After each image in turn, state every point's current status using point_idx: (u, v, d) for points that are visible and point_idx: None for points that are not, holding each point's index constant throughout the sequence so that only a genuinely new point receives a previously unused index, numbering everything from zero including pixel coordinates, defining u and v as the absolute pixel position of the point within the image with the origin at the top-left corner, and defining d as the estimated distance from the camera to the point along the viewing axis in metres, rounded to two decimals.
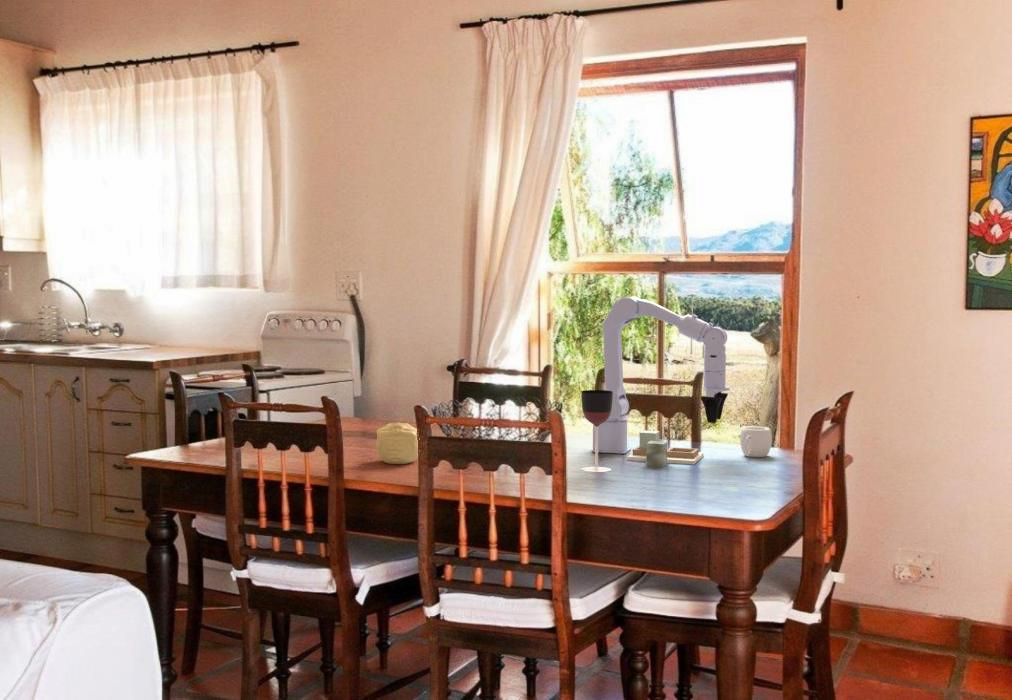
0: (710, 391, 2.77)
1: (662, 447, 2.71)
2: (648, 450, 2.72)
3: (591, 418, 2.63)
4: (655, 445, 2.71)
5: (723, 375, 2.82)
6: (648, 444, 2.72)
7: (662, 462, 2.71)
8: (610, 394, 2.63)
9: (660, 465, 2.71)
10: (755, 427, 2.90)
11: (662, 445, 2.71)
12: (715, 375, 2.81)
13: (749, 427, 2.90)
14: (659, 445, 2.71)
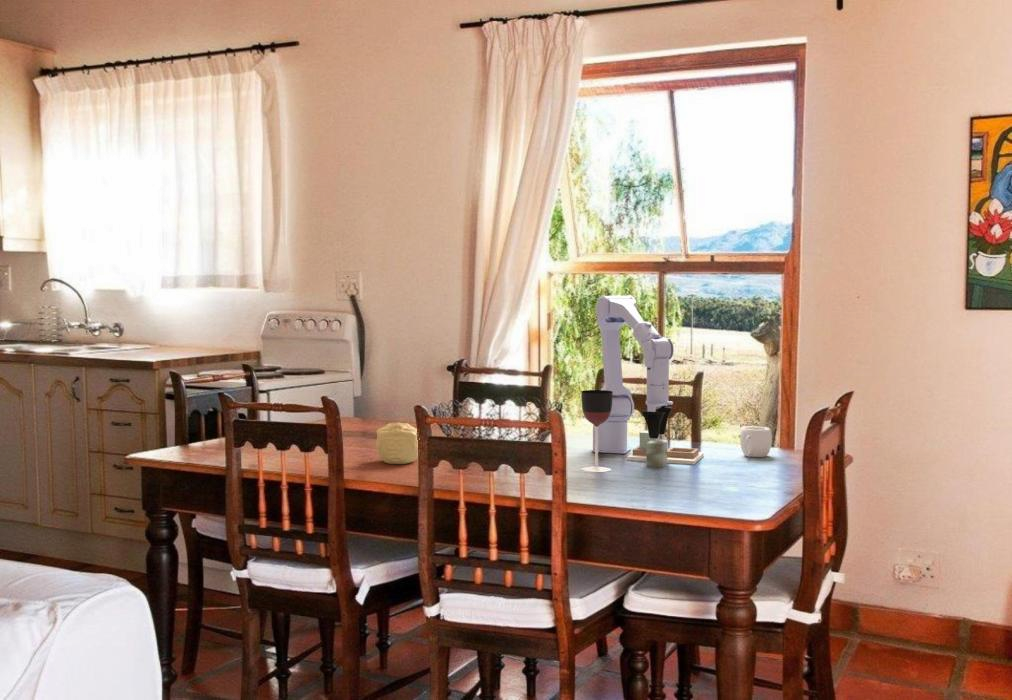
0: (651, 405, 2.66)
1: (662, 447, 2.71)
2: (648, 450, 2.72)
3: (591, 418, 2.64)
4: (655, 445, 2.71)
5: (665, 389, 2.70)
6: (648, 444, 2.72)
7: (662, 462, 2.71)
8: (610, 394, 2.63)
9: (660, 465, 2.71)
10: (755, 427, 2.90)
11: (662, 445, 2.71)
12: (657, 389, 2.70)
13: (749, 427, 2.90)
14: (659, 445, 2.71)
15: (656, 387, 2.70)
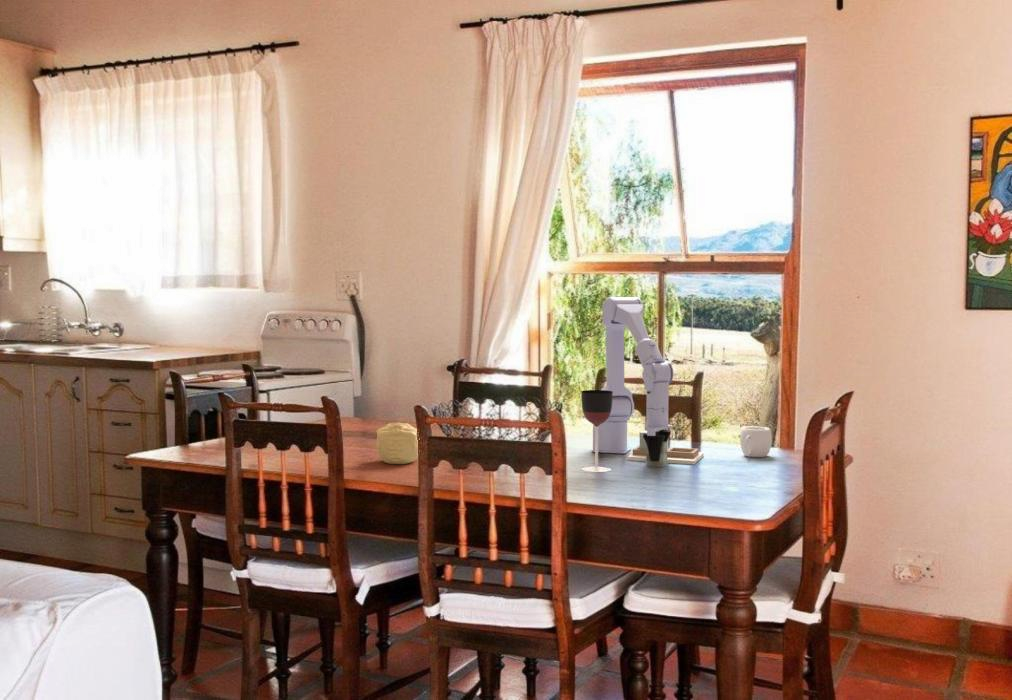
0: (651, 430, 2.66)
1: (662, 447, 2.71)
2: None
3: (591, 418, 2.63)
4: None
5: (665, 413, 2.71)
6: None
7: (662, 462, 2.71)
8: (610, 394, 2.63)
9: (660, 465, 2.71)
10: (755, 427, 2.90)
11: (662, 445, 2.71)
12: (657, 412, 2.70)
13: (749, 427, 2.90)
14: None
15: (656, 411, 2.70)
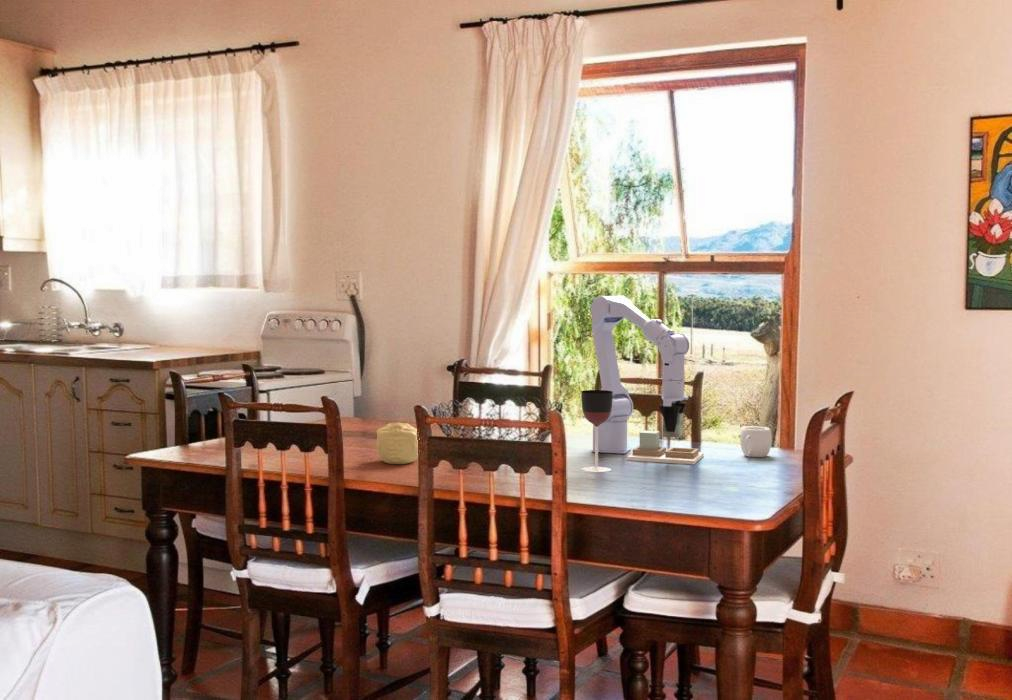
0: (667, 400, 2.71)
1: (678, 418, 2.75)
2: None
3: (591, 418, 2.64)
4: None
5: (681, 384, 2.75)
6: None
7: (678, 433, 2.76)
8: (610, 394, 2.63)
9: (676, 436, 2.76)
10: (755, 427, 2.90)
11: (678, 416, 2.75)
12: (673, 384, 2.75)
13: (749, 427, 2.90)
14: None
15: (672, 382, 2.75)
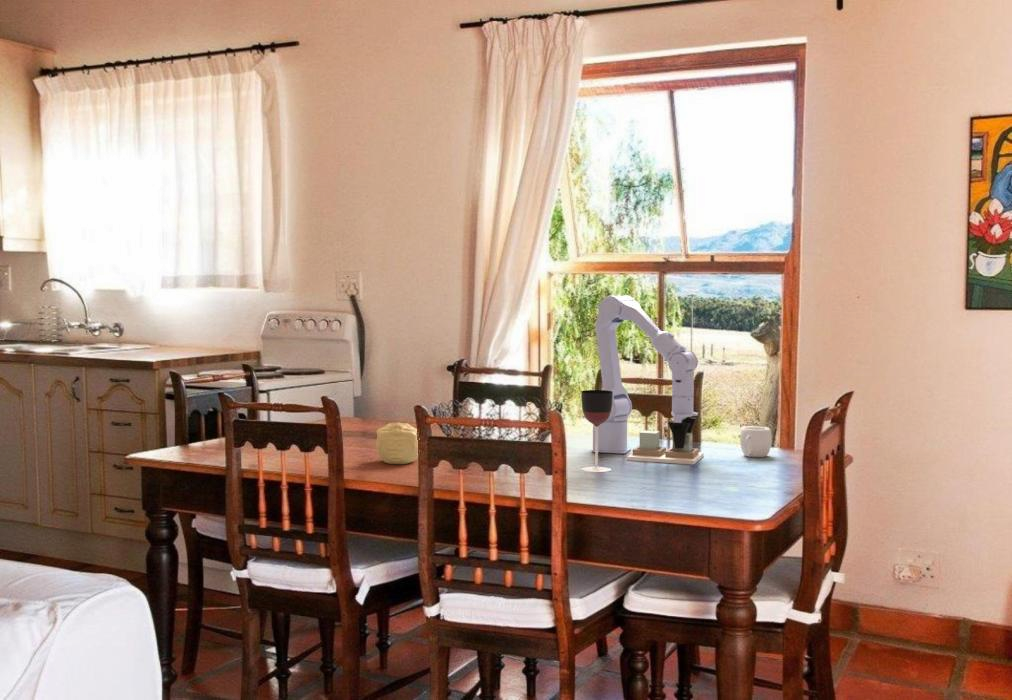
0: (677, 417, 2.75)
1: (688, 438, 2.79)
2: None
3: (591, 418, 2.63)
4: None
5: (690, 400, 2.79)
6: None
7: None
8: (610, 394, 2.63)
9: None
10: (755, 427, 2.90)
11: (688, 436, 2.79)
12: (683, 400, 2.79)
13: (749, 427, 2.90)
14: None
15: (682, 399, 2.79)
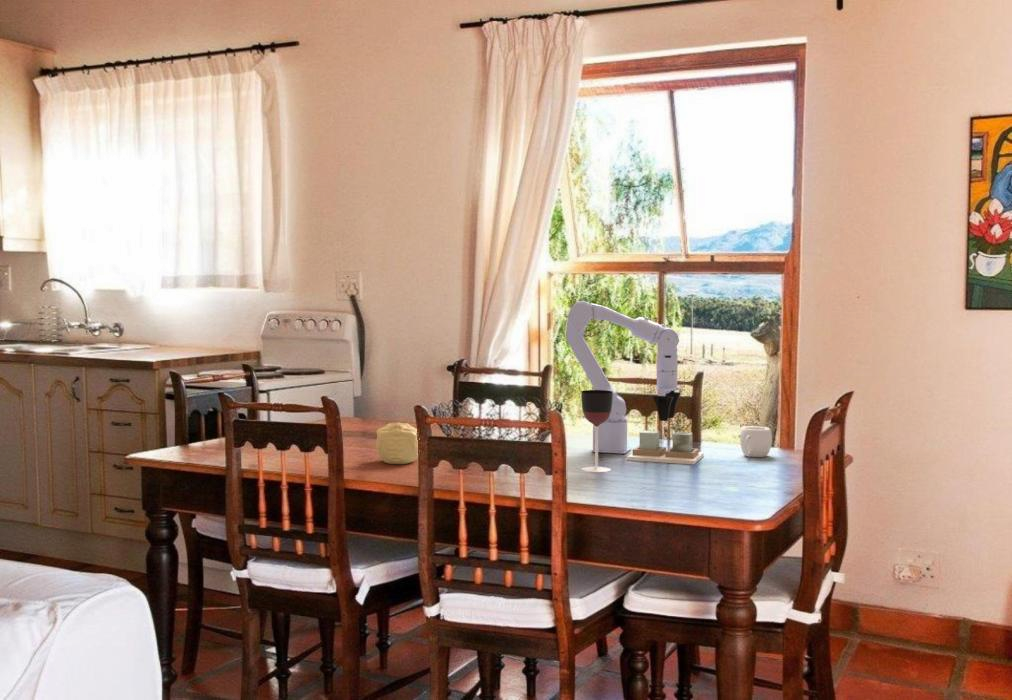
0: (661, 390, 2.86)
1: (688, 438, 2.79)
2: (674, 441, 2.81)
3: (591, 418, 2.63)
4: (681, 436, 2.80)
5: (674, 375, 2.90)
6: (674, 435, 2.80)
7: None
8: (610, 394, 2.63)
9: None
10: (755, 427, 2.90)
11: (688, 436, 2.79)
12: (667, 375, 2.90)
13: (749, 427, 2.90)
14: (685, 436, 2.79)
15: (666, 373, 2.90)
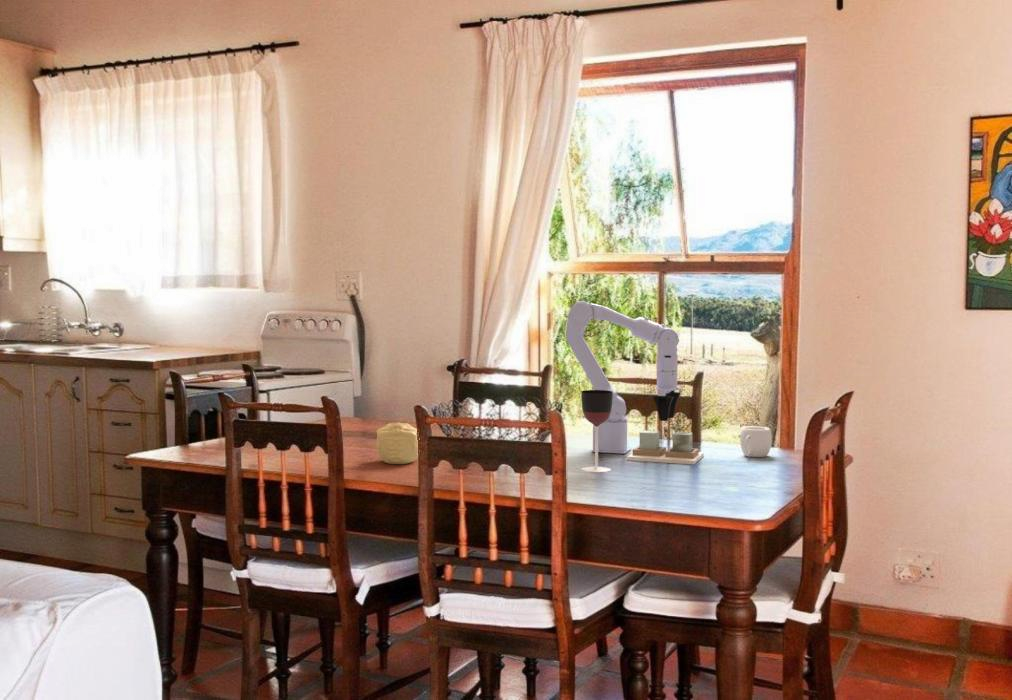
0: (661, 390, 2.86)
1: (688, 438, 2.79)
2: (674, 441, 2.81)
3: (591, 418, 2.63)
4: (681, 436, 2.80)
5: (674, 375, 2.90)
6: (674, 435, 2.80)
7: None
8: (610, 394, 2.63)
9: None
10: (755, 427, 2.90)
11: (688, 436, 2.79)
12: (667, 375, 2.90)
13: (749, 427, 2.90)
14: (685, 436, 2.79)
15: (666, 373, 2.90)
